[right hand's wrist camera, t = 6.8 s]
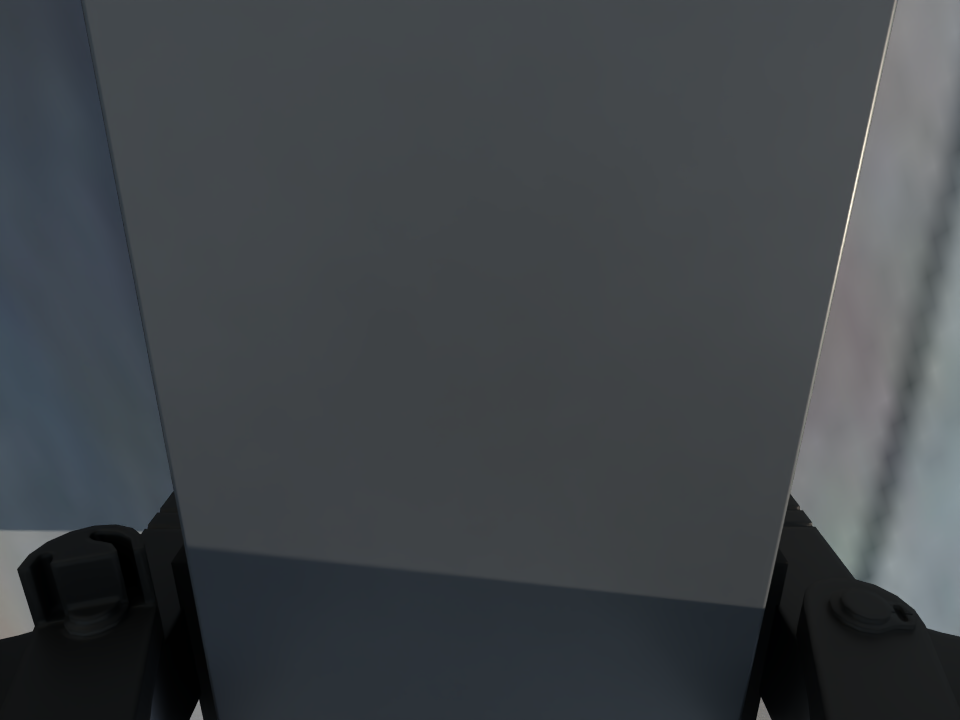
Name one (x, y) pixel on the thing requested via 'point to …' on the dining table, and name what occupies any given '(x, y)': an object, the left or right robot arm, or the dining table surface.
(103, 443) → the dining table surface
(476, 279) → the bar
